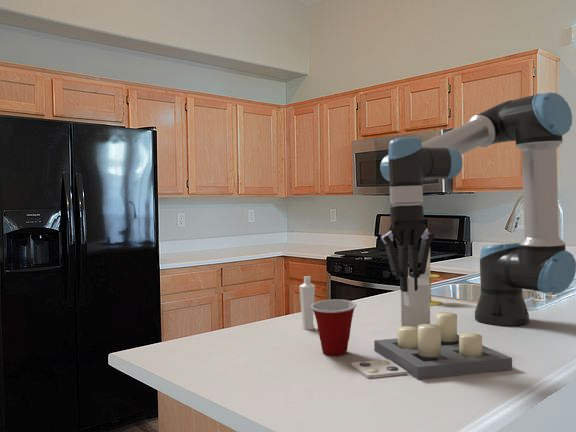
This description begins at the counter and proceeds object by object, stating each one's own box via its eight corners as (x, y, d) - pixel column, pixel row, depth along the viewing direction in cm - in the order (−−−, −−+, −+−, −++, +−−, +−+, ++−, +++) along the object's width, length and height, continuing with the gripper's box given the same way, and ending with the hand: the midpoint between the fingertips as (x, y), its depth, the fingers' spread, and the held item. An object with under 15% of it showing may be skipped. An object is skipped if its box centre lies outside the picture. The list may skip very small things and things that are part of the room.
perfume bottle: (308, 331, 148) (307, 278, 148) (297, 328, 152) (296, 276, 151) (319, 328, 151) (318, 276, 151) (309, 325, 155) (308, 275, 154)
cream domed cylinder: (433, 350, 116) (433, 323, 116) (445, 356, 111) (445, 328, 111) (414, 352, 115) (413, 324, 115) (424, 358, 110) (424, 329, 110)
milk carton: (430, 344, 132) (429, 269, 132) (401, 343, 134) (400, 269, 133) (428, 337, 139) (427, 266, 139) (401, 336, 141) (400, 265, 140)
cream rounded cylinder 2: (474, 358, 118) (473, 332, 118) (486, 364, 114) (486, 337, 114) (455, 360, 117) (454, 333, 117) (467, 366, 113) (466, 339, 112)
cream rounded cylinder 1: (450, 336, 128) (450, 311, 128) (461, 341, 123) (460, 315, 123) (432, 337, 127) (432, 313, 127) (442, 342, 122) (442, 317, 122)
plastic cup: (303, 355, 124) (302, 305, 124) (325, 344, 133) (324, 297, 133) (343, 362, 118) (343, 309, 118) (364, 350, 127) (363, 301, 127)
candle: (447, 302, 187) (446, 227, 186) (433, 306, 180) (432, 228, 179) (422, 299, 194) (421, 226, 193) (407, 303, 186) (407, 228, 186)
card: (389, 361, 118) (389, 358, 118) (407, 374, 109) (407, 370, 109) (351, 365, 116) (351, 361, 116) (366, 378, 107) (366, 374, 107)
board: (455, 343, 132) (455, 333, 132) (512, 369, 111) (512, 357, 111) (374, 350, 127) (374, 340, 127) (417, 379, 106) (417, 367, 106)
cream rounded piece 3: (413, 350, 126) (412, 325, 126) (422, 355, 121) (422, 330, 121) (394, 352, 125) (394, 327, 124) (403, 357, 120) (403, 331, 120)
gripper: (424, 203, 127) (426, 300, 128) (374, 205, 124) (377, 304, 125) (440, 203, 120) (442, 305, 121) (387, 205, 117) (390, 310, 118)
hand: (409, 305), depth 123 cm, fingers closed
